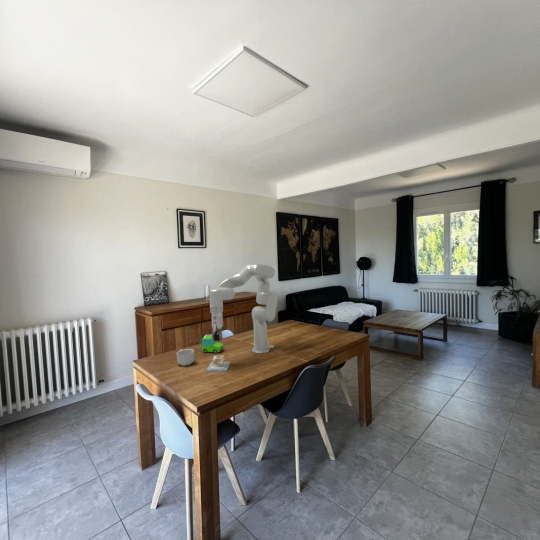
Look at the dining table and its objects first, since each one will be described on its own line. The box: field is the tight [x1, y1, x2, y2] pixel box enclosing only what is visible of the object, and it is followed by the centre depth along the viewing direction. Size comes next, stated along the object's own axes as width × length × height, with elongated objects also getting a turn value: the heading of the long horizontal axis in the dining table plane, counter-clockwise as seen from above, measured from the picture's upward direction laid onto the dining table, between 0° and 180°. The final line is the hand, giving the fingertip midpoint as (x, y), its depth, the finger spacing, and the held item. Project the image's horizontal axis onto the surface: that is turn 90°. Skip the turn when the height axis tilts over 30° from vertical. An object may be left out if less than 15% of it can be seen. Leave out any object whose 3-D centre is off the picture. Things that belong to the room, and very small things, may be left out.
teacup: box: [175, 348, 196, 367], centre depth 178 cm, size 14×11×8 cm
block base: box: [212, 355, 226, 367], centre depth 170 cm, size 6×6×5 cm
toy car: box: [201, 335, 225, 355], centre depth 200 cm, size 10×13×10 cm
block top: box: [211, 328, 223, 342], centre depth 169 cm, size 5×5×6 cm
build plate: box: [206, 361, 231, 373], centre depth 170 cm, size 12×12×1 cm
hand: (217, 339), depth 170 cm, fingers closed on block top, 4 cm apart
